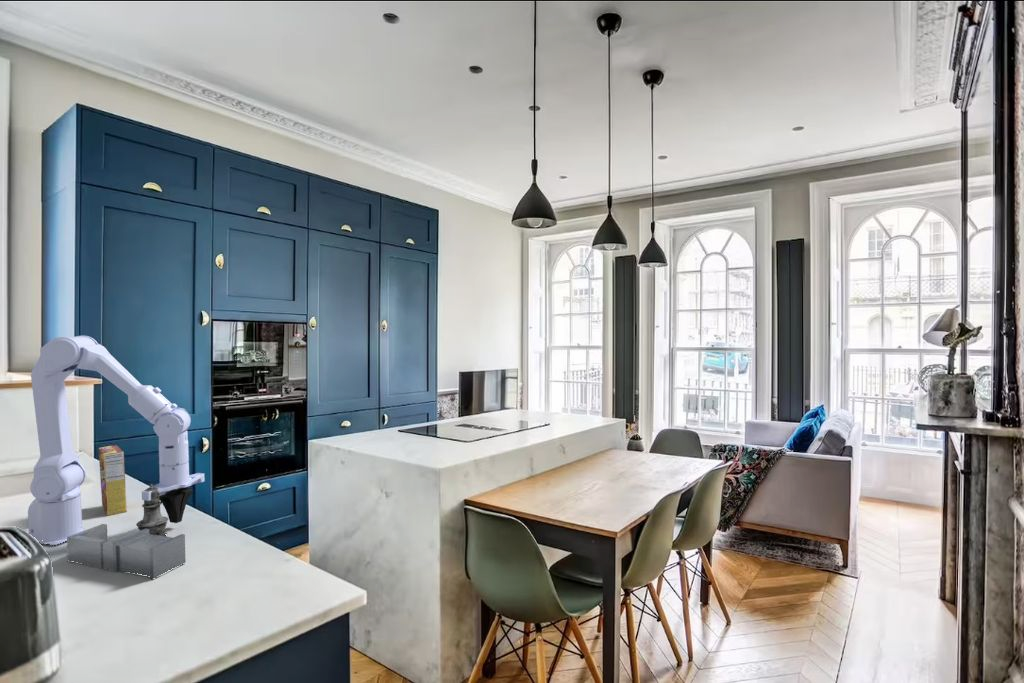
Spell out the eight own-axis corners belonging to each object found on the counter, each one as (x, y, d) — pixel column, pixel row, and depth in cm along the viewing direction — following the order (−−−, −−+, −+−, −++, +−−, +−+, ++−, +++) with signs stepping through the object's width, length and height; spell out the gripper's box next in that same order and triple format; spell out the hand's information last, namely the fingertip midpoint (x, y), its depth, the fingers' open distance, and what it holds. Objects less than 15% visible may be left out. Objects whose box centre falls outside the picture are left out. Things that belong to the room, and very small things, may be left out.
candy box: (100, 507, 139) (98, 447, 138) (120, 503, 142) (118, 444, 141) (105, 516, 132) (103, 453, 131) (127, 512, 135) (125, 450, 134)
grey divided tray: (65, 562, 108) (64, 533, 107) (103, 547, 115) (102, 520, 114) (153, 579, 101) (152, 548, 101) (188, 562, 108) (187, 533, 108)
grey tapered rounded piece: (153, 544, 116) (151, 488, 116) (129, 541, 118) (127, 486, 117) (175, 533, 122) (173, 480, 122) (152, 531, 123) (151, 478, 123)
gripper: (158, 473, 117) (160, 535, 117) (214, 456, 130) (215, 512, 131) (133, 470, 119) (135, 532, 119) (190, 454, 133) (192, 509, 133)
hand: (175, 521), depth 125 cm, fingers closed
